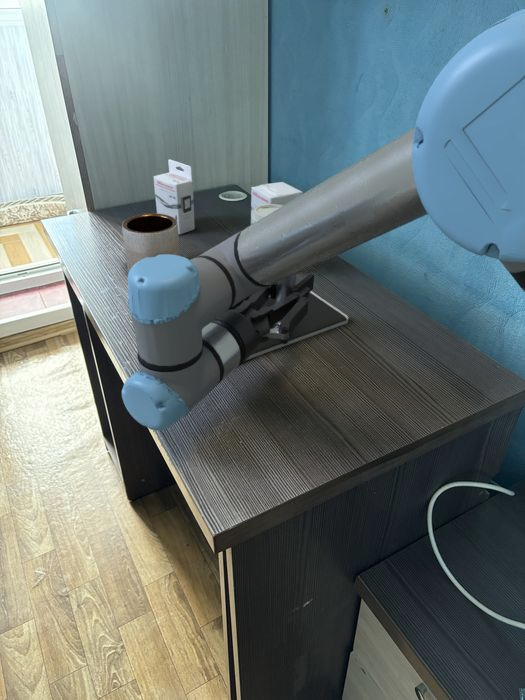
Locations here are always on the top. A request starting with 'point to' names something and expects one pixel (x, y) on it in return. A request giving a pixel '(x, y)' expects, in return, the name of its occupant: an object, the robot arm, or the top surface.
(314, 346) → the top surface
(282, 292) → the grey metal rod
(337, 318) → the smartphone
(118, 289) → the top surface
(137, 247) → the planter
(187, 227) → the ink box
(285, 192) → the ink box
